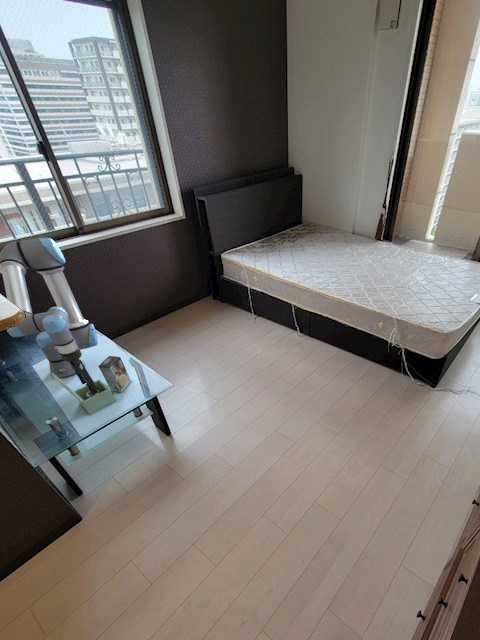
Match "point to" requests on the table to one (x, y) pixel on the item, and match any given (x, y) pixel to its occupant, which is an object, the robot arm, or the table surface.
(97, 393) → the coffee pod
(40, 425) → the table surface
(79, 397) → the lid
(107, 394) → the pale green cubby
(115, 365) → the coffee box
